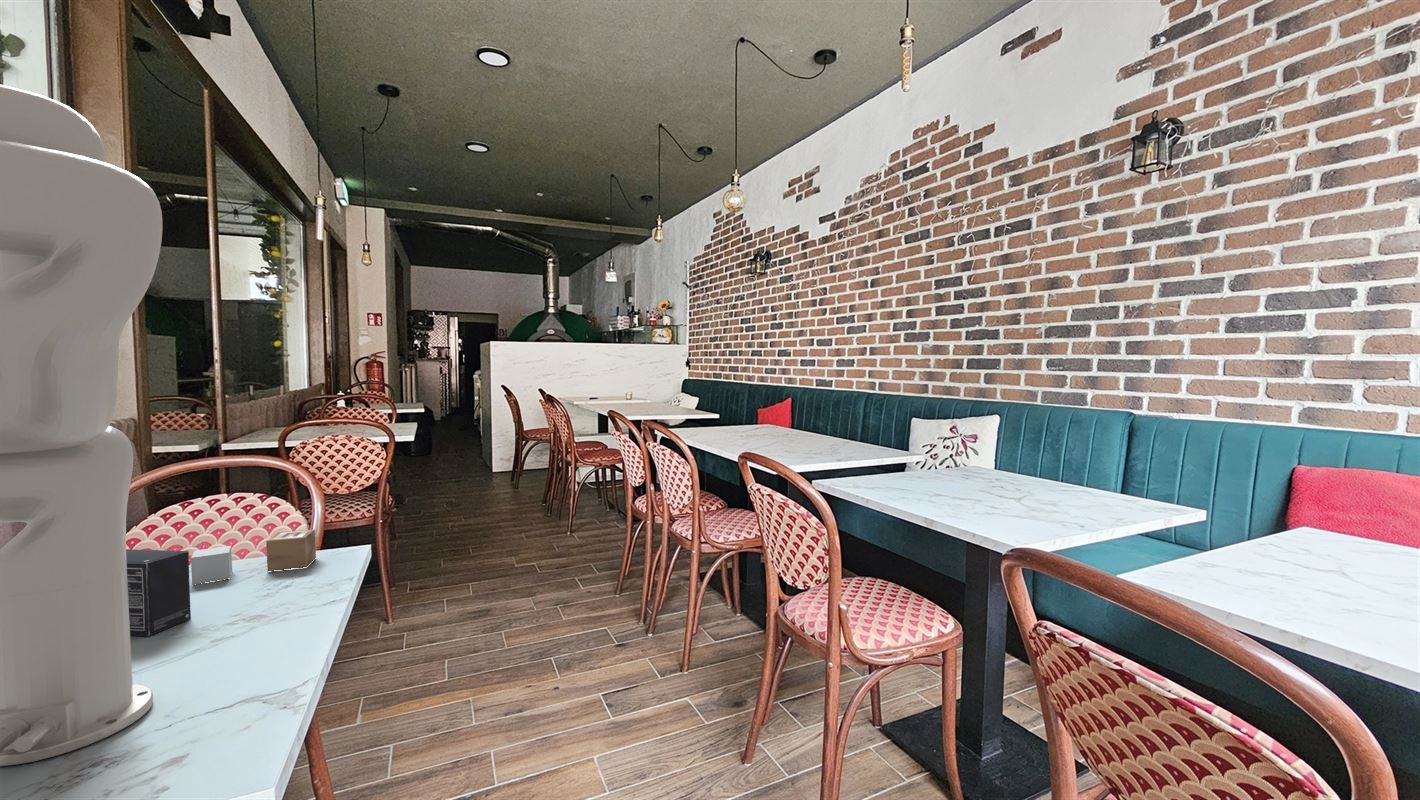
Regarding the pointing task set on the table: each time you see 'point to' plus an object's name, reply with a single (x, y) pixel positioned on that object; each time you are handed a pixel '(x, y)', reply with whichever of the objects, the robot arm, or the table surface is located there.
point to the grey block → (211, 564)
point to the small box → (157, 590)
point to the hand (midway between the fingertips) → (54, 445)
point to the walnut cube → (291, 550)
